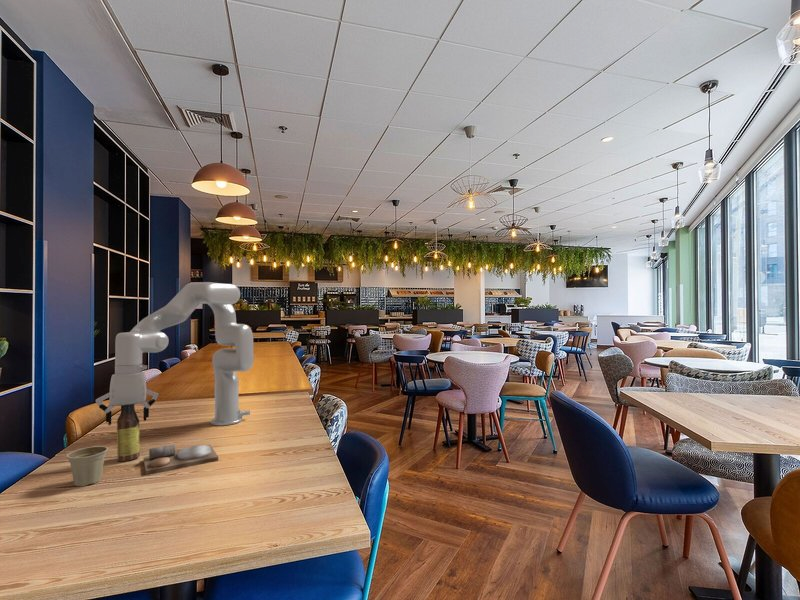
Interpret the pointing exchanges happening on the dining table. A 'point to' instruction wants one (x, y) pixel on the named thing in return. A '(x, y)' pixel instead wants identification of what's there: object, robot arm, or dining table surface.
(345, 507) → the dining table surface
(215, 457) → the board
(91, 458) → the flower pot
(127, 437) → the sauce bottle
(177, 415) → the dining table surface
